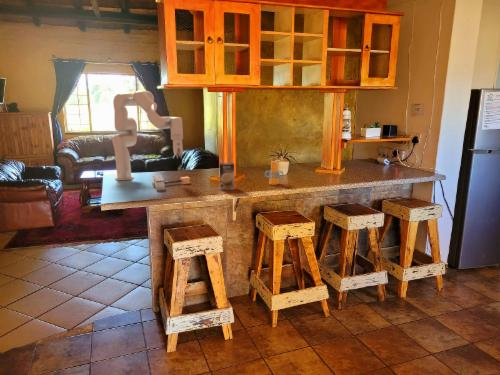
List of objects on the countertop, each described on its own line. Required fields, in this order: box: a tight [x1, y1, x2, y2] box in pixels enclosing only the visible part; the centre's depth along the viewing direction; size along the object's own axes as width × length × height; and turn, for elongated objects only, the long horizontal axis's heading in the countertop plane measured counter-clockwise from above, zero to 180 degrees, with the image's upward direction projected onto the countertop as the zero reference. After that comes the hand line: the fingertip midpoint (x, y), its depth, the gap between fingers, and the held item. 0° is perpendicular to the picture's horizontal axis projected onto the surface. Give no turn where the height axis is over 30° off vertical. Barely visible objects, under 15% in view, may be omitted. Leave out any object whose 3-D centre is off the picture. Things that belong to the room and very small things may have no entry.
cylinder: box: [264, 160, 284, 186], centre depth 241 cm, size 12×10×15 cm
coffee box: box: [219, 162, 235, 191], centre depth 227 cm, size 9×6×16 cm
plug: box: [151, 176, 191, 189], centre depth 240 cm, size 4×24×4 cm, turn 121°
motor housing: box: [152, 174, 166, 191], centre depth 235 cm, size 20×5×6 cm, turn 19°
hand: (178, 163), depth 236 cm, fingers open, 9 cm apart
